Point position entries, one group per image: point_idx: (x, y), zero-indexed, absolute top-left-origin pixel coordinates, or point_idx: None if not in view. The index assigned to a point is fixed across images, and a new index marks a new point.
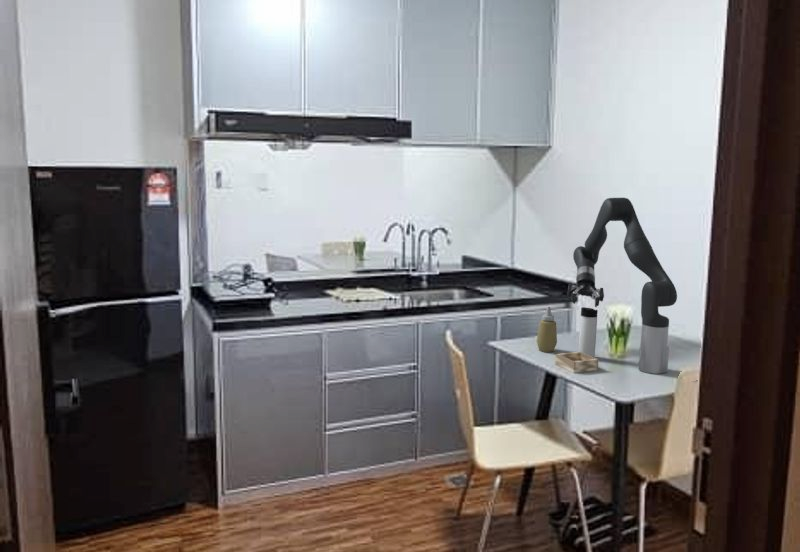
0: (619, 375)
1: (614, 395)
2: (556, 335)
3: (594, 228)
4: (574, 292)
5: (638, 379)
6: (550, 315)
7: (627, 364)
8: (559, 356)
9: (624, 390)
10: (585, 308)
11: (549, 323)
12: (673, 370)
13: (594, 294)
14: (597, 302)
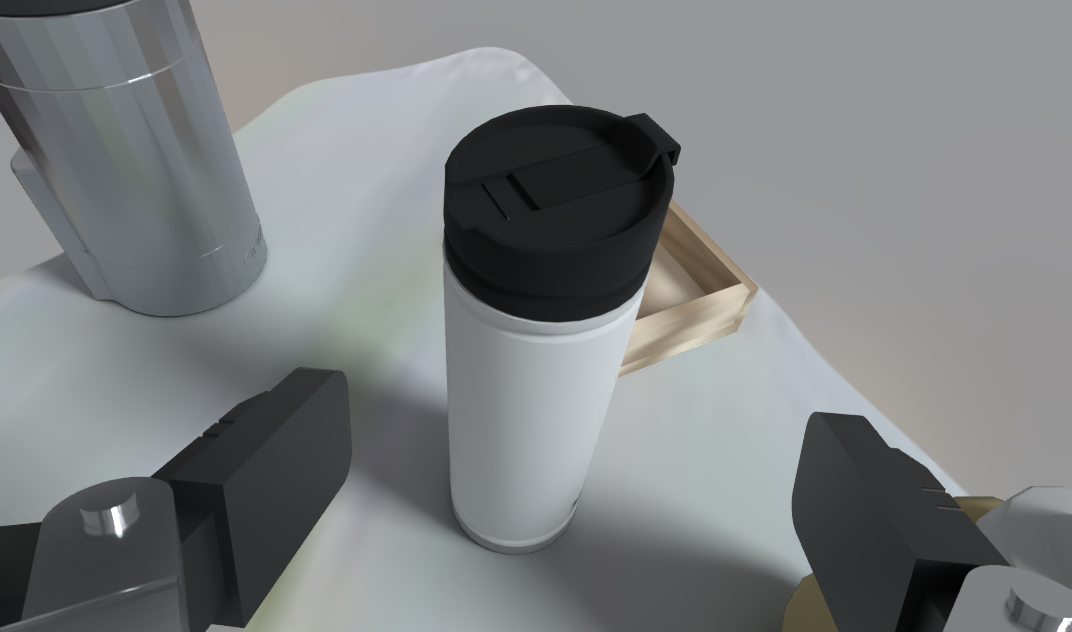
0: (422, 201)
1: (524, 61)
2: (823, 614)
3: None
4: (1026, 588)
5: (354, 164)
6: (1062, 522)
7: (273, 356)
8: (733, 265)
9: (473, 86)
10: (626, 119)
11: (979, 501)
12: (44, 267)
13: (183, 579)
14: (296, 373)
